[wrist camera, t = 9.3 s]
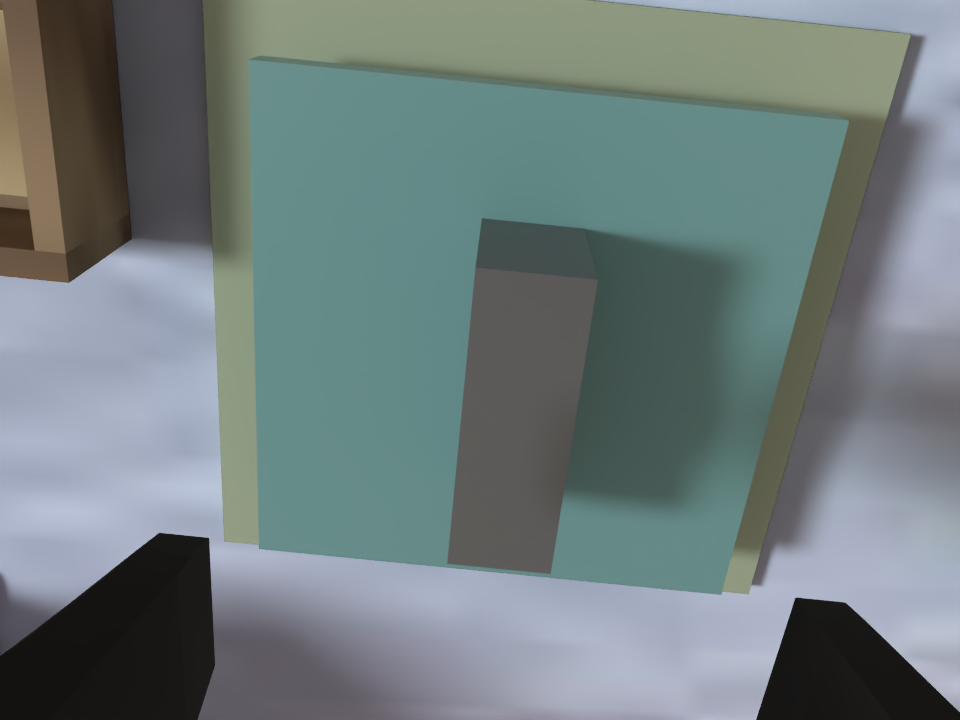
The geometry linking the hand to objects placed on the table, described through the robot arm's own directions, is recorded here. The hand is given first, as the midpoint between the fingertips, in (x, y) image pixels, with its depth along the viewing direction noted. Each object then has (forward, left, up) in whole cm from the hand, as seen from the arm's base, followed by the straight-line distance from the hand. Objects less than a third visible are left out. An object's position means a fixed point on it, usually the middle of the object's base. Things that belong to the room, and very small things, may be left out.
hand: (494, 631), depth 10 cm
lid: (0, 0, -10) cm, 10 cm away
